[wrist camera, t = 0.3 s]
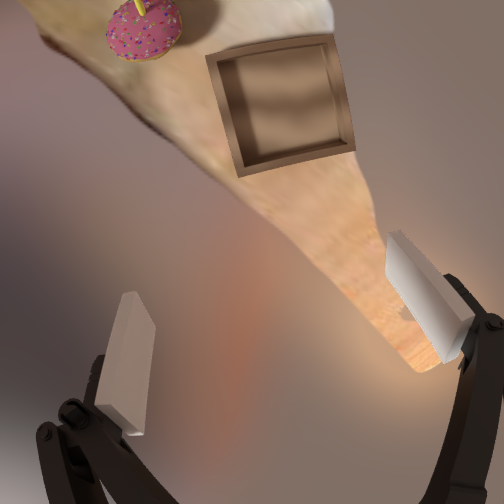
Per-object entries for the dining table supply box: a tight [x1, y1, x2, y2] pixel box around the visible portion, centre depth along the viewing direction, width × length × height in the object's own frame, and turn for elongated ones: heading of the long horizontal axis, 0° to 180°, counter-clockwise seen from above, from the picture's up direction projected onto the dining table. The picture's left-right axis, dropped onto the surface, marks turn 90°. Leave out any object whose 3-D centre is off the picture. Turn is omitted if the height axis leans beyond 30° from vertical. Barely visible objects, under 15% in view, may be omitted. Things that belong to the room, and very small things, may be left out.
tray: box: [205, 34, 356, 178], centre depth 33 cm, size 15×15×4 cm
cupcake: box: [106, 0, 182, 63], centre depth 24 cm, size 9×8×12 cm
